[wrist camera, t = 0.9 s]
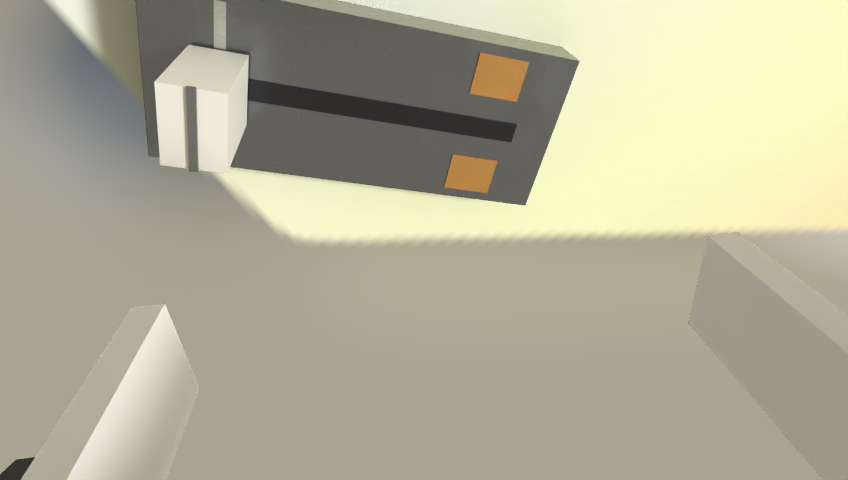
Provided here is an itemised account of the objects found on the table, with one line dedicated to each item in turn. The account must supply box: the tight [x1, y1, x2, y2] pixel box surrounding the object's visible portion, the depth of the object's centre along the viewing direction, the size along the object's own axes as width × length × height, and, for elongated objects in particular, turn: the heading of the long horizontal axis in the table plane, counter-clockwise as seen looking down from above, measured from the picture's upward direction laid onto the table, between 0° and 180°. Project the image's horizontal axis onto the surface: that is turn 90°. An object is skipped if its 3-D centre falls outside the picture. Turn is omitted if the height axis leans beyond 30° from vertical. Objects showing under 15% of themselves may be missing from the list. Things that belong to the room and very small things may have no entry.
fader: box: [154, 45, 249, 174], centre depth 26 cm, size 4×3×6 cm
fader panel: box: [136, 0, 579, 205], centre depth 32 cm, size 10×24×3 cm, turn 78°
